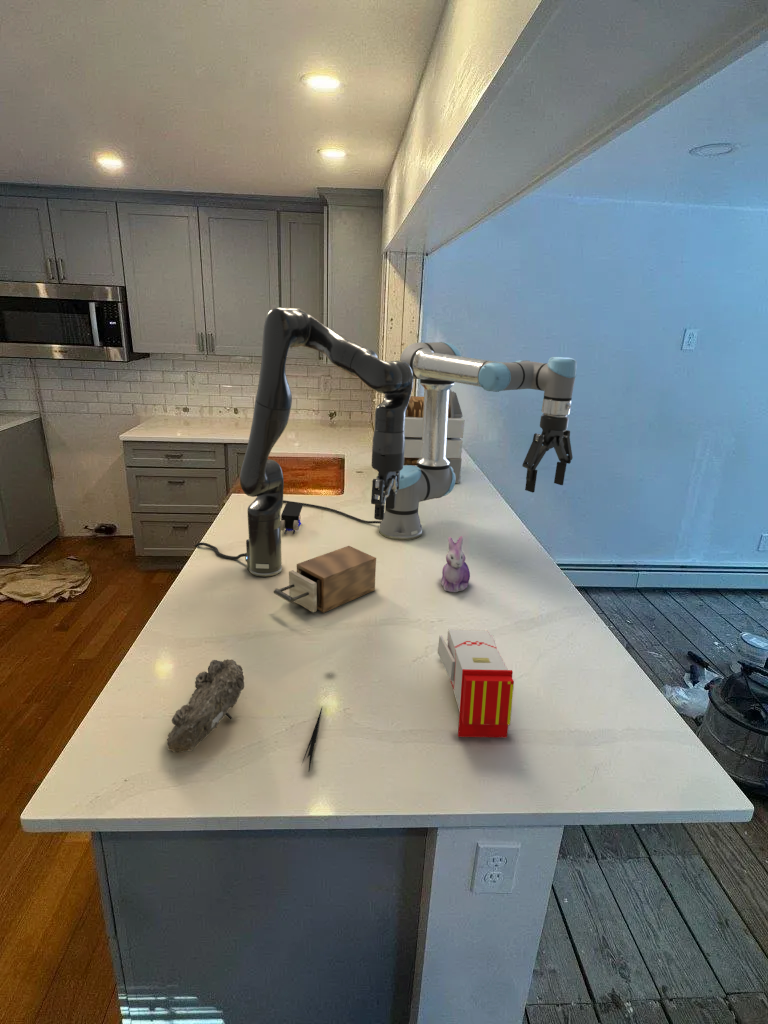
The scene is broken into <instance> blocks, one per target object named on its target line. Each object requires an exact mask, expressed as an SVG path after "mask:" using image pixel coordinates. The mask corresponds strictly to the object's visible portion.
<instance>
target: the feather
mask: <svg viewBox="0 0 768 1024" xmlns="http://www.w3.org/2000/svg"><path fill="white" fill-rule="evenodd" d="M329 675H330V676H331V675H332V674H331V673H330V674H329ZM322 710H323V707H321V708H320V710H319V713H318V716H317V719H316V723H315V725H314V728H313V731H312V733H311V737H310V739H309V742H308V745H307V748H306V751H305V754H304V757H303V760H302V763H301V767H302V765H303V763H304V761H305V758H308V759H309V760H308V762H307V763H308V764H307V766H308V771H310V770H311V766H312V765H311V764H312V760H313V757H315V756H314V755H315V751H316V749H315V746H317V739H318V733H319V729H320V722H321V717H322V712H323V711H322ZM313 754H314V755H313ZM306 755H307V757H306Z"/></svg>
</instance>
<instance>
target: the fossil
mask: <svg viewBox="0 0 768 1024" xmlns="http://www.w3.org/2000/svg"><path fill="white" fill-rule="evenodd" d="M243 670H244V669H243V667H242V665H240V664H237V662H236V661H235V660H234V659H232V658H231V659H227V658H226V659H224V660H223V661H222V660H217V659H212V660H211V661H210V663H209V665H208V666H207V671H201V672H199V673H198V674H197V675H196V676H195V680H194V684H195V685H194V687H195V689H194V690H193V693H192V694H191V697H190V698H189V700H188V704H184V705H182V706H181V707H180V709H177V710H176V711H175V713H174V715H173V716H172V718H171V723H172V724H173V727H172V730H171V731H170V732H168V734H167V738H166V741H167V742H166V745H167V749H168V750H169V751H173V752H174V753H176V754H178V753H182V752H188V751H189V752H192V751H193V750H195V748H196V747H197V746H199V744H200V743H201V742H203V741H204V740H205V739H206V738H207V737H208V736H209V735H210V734H211V733H212V732H214V730H215V729H217V727H218V726H219V724H220V722H221V721H222V720H223V719H224V718H225V716H226V717H227V719H229V720H233V717H232V715H230V714H229V710H230V709H231V708H234V706H235V704H236V703H237V702H238V699H239V697H240V695H241V693H242V691H243V690H245V689H244V688H245V675H244V671H243Z"/></svg>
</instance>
